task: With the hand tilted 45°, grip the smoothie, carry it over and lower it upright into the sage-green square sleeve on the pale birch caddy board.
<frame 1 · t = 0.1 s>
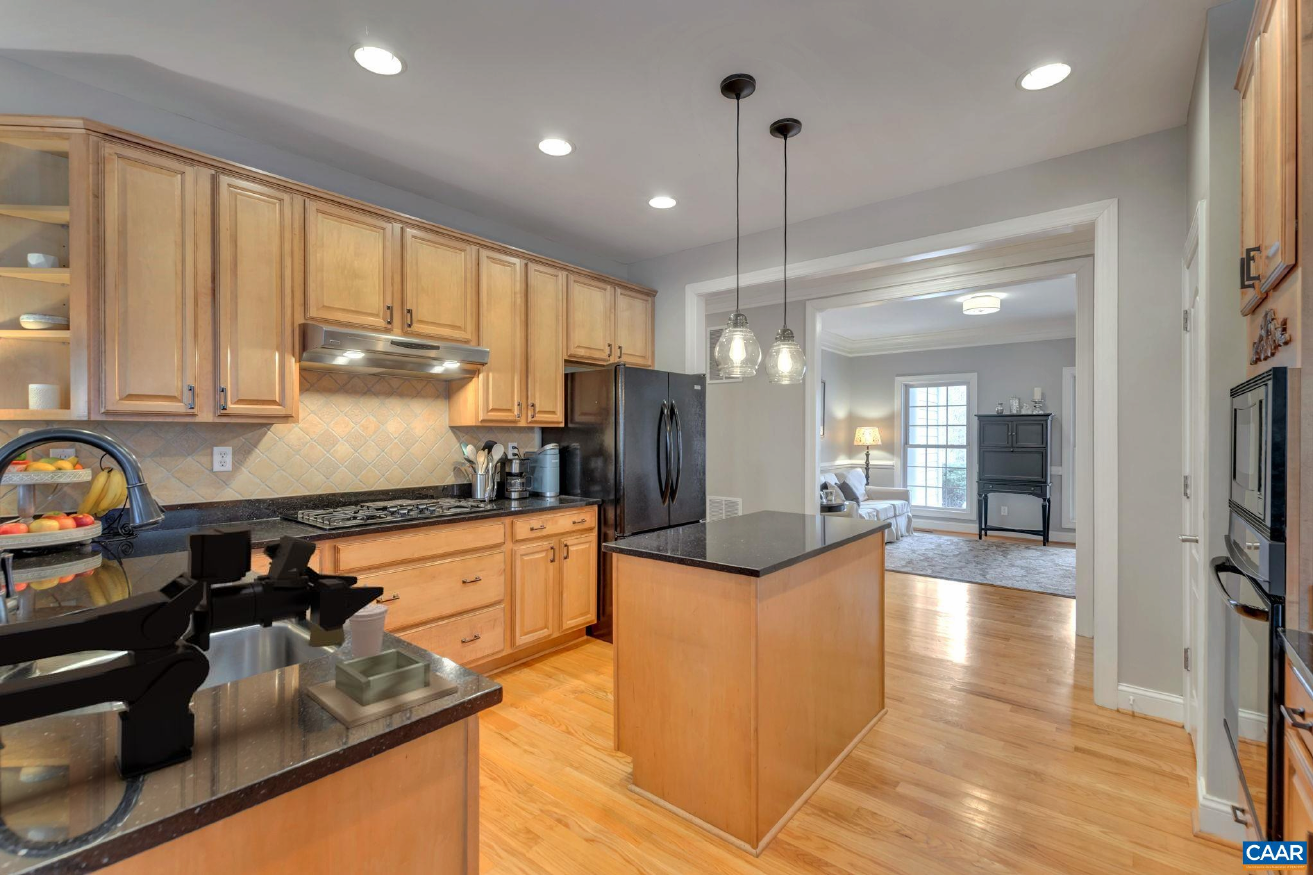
hand: (369, 584, 91), 17 cm above the counter, tool horizontal, fingers open, 9 cm apart
cork: (327, 642, 114), on the counter
smoothie: (366, 666, 102), on the counter
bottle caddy: (382, 692, 92), on the counter
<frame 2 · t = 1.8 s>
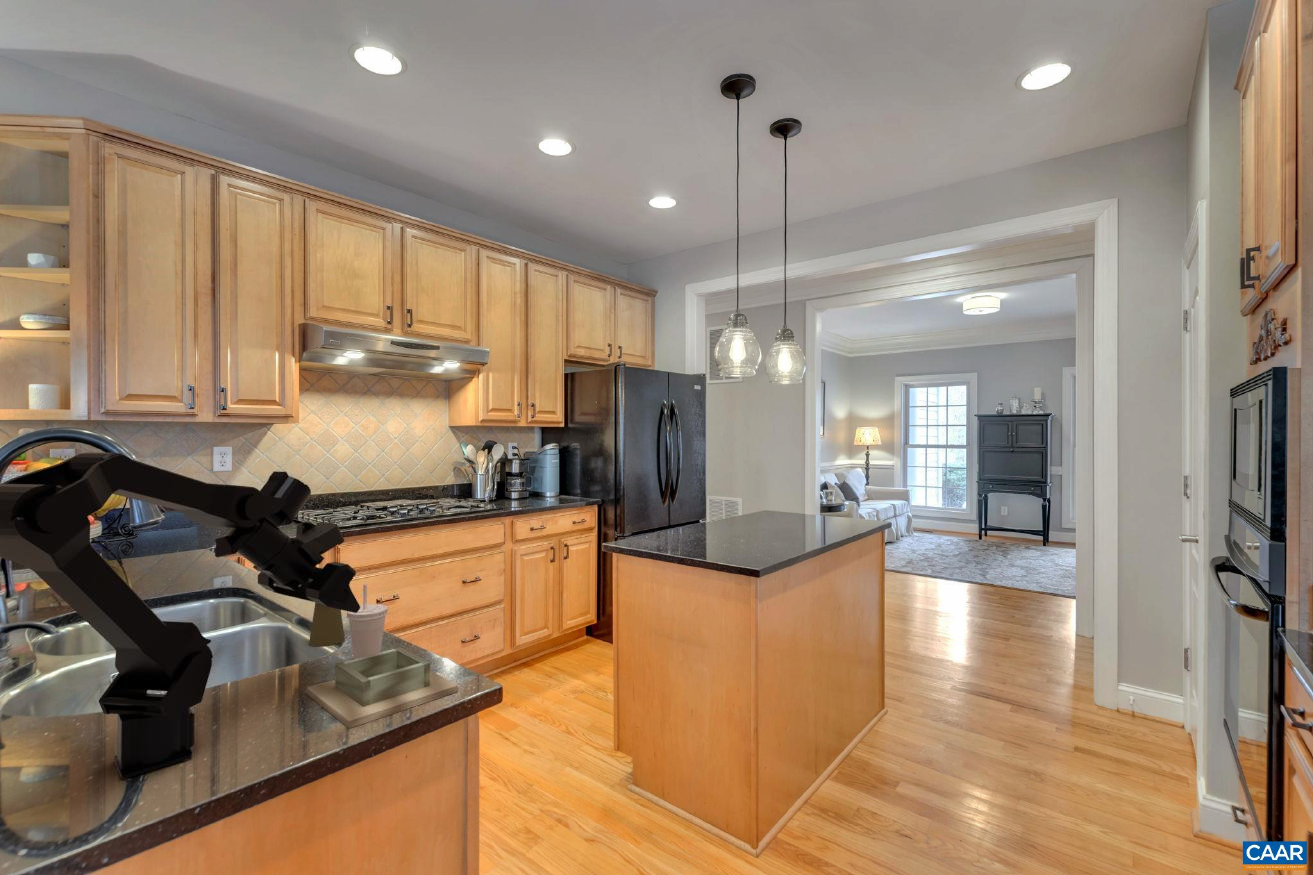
hand: (341, 605, 99), 11 cm above the counter, tool tilted 45°, fingers open, 9 cm apart
nothing on the counter moved.
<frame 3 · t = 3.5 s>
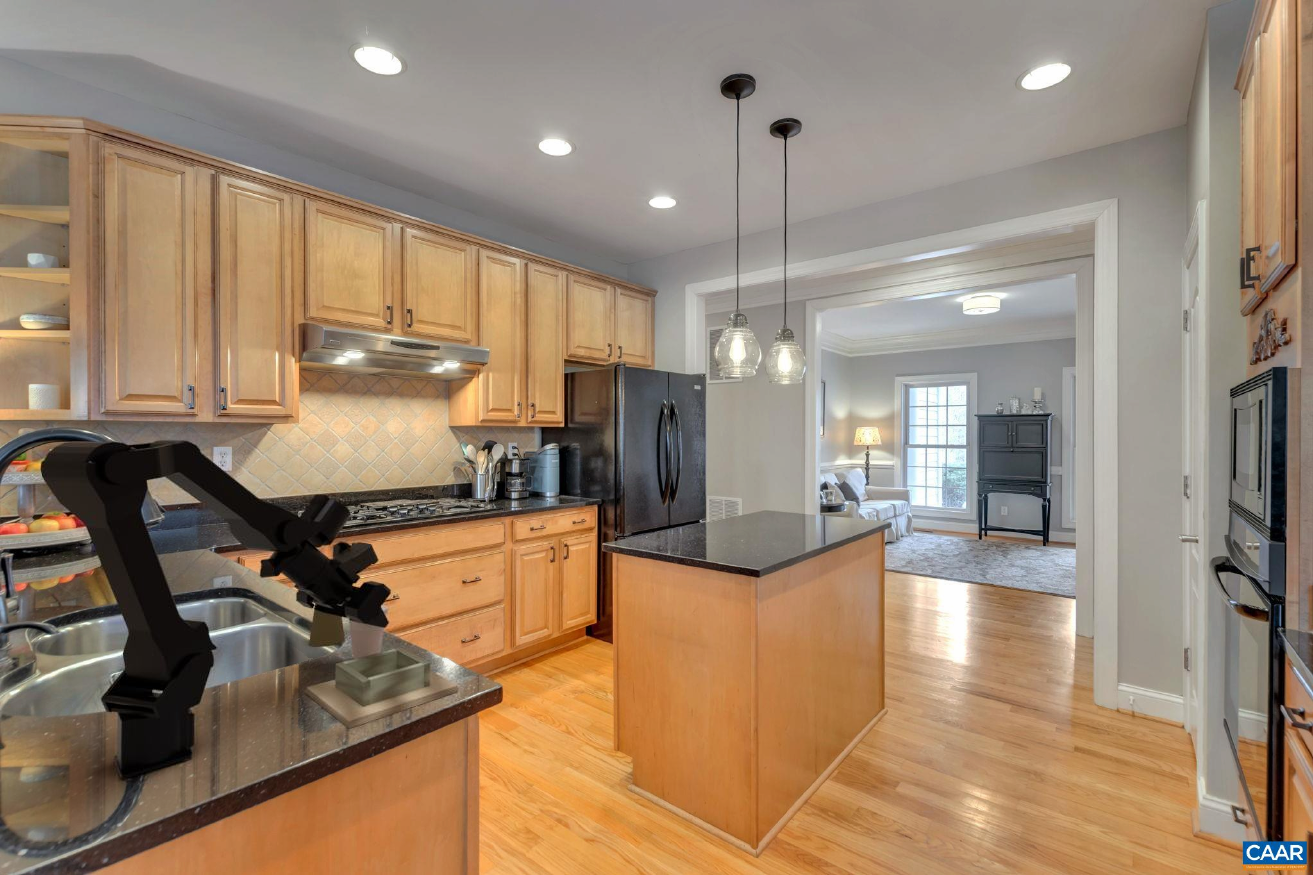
hand: (374, 621, 104), 7 cm above the counter, tool tilted 45°, fingers closed on smoothie, 6 cm apart
smoothie: (366, 666, 103), on the counter, touching gripper
everything else where it was.
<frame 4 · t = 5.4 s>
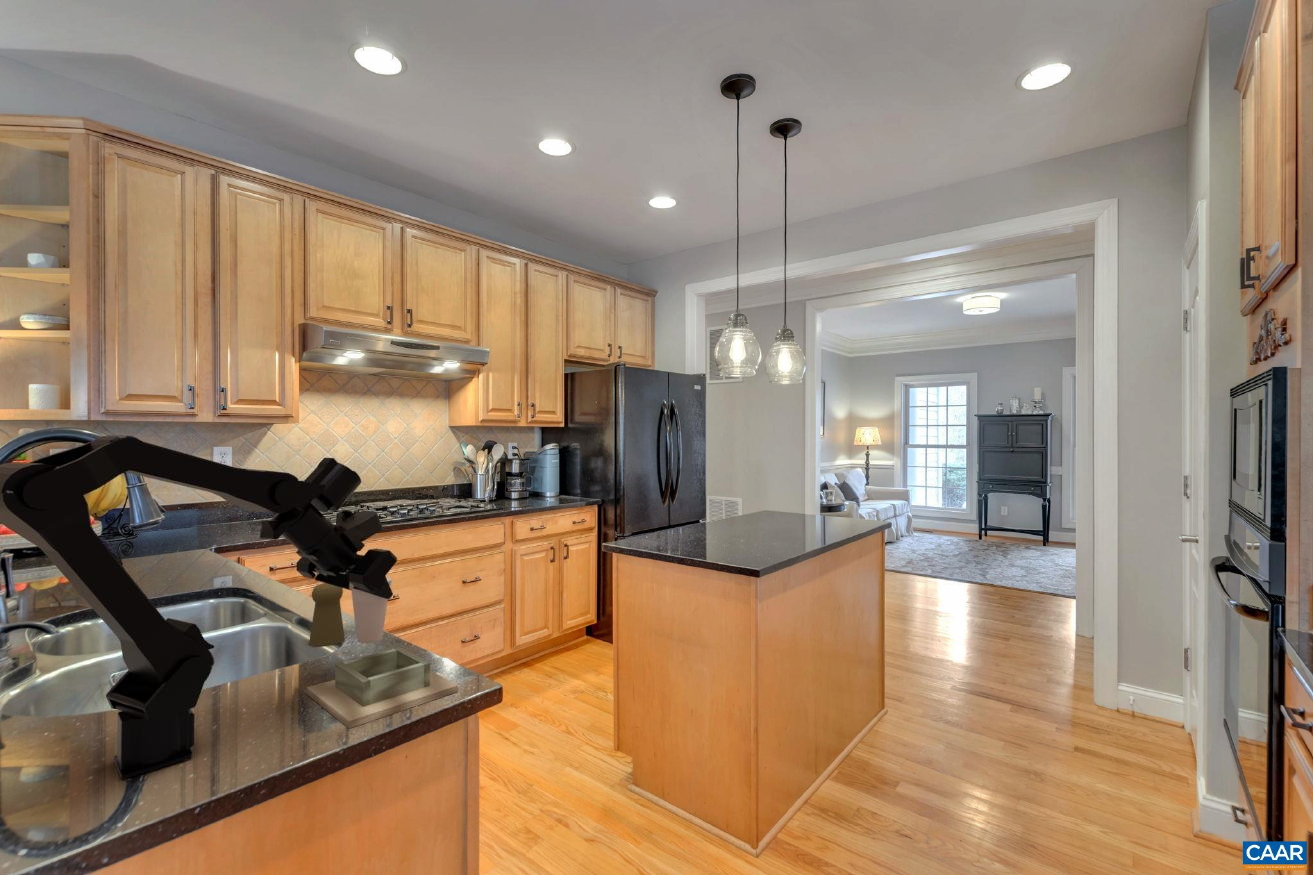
hand: (378, 594, 100), 13 cm above the counter, tool tilted 45°, fingers closed on smoothie, 6 cm apart
smoothie: (369, 640, 99), point 6 cm above the counter, touching gripper
everything else where it was.
when the fingers open (9 cm above the counter, at t = 7.6 s): smoothie stays where it is, resting on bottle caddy.
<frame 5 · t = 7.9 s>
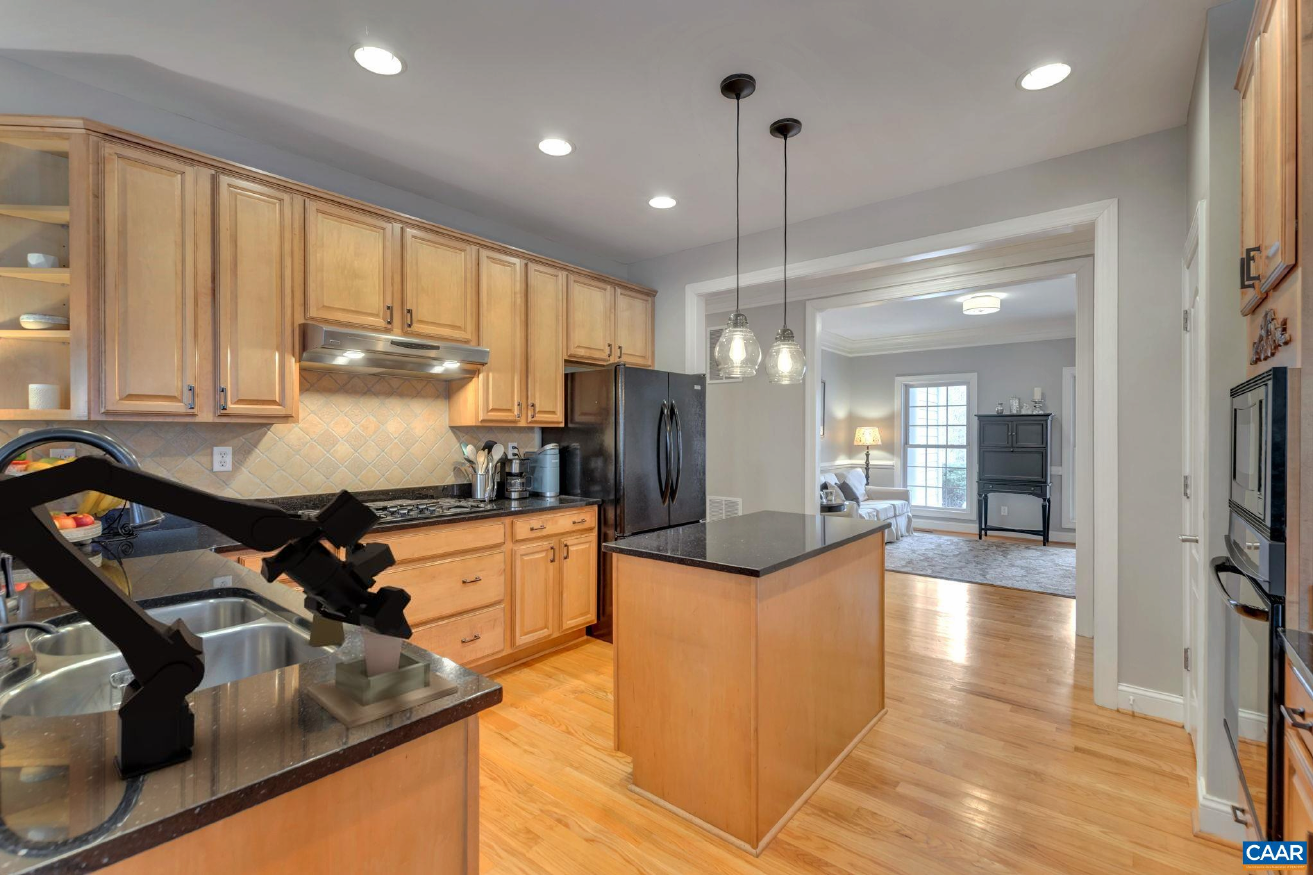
hand: (391, 631, 93), 9 cm above the counter, tool tilted 45°, fingers open, 9 cm apart
smoothie: (382, 688, 91), point 1 cm above the counter, touching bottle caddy
everything else where it was.
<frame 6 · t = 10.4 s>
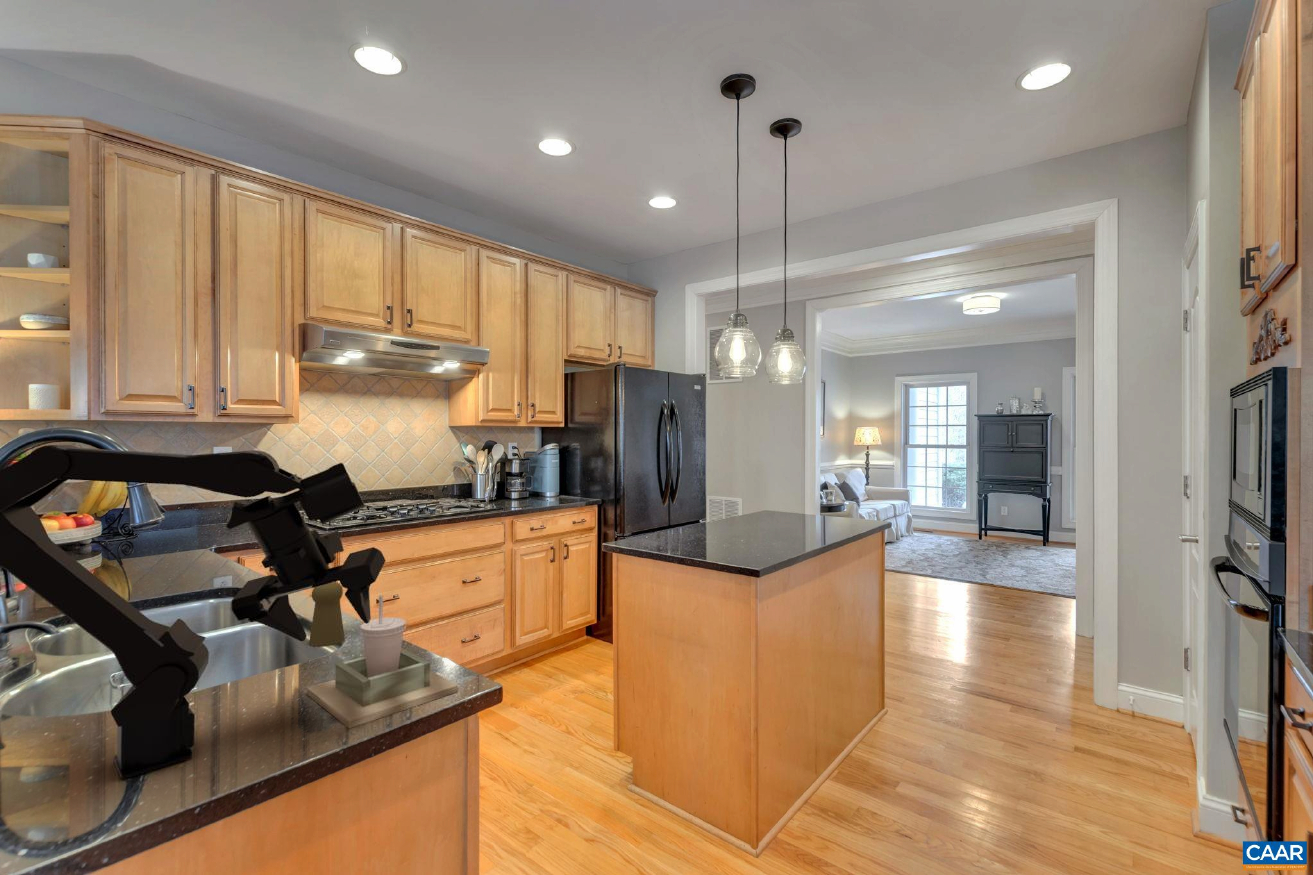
hand: (336, 630, 85), 12 cm above the counter, tool tilted 25°, fingers open, 9 cm apart
nothing on the counter moved.
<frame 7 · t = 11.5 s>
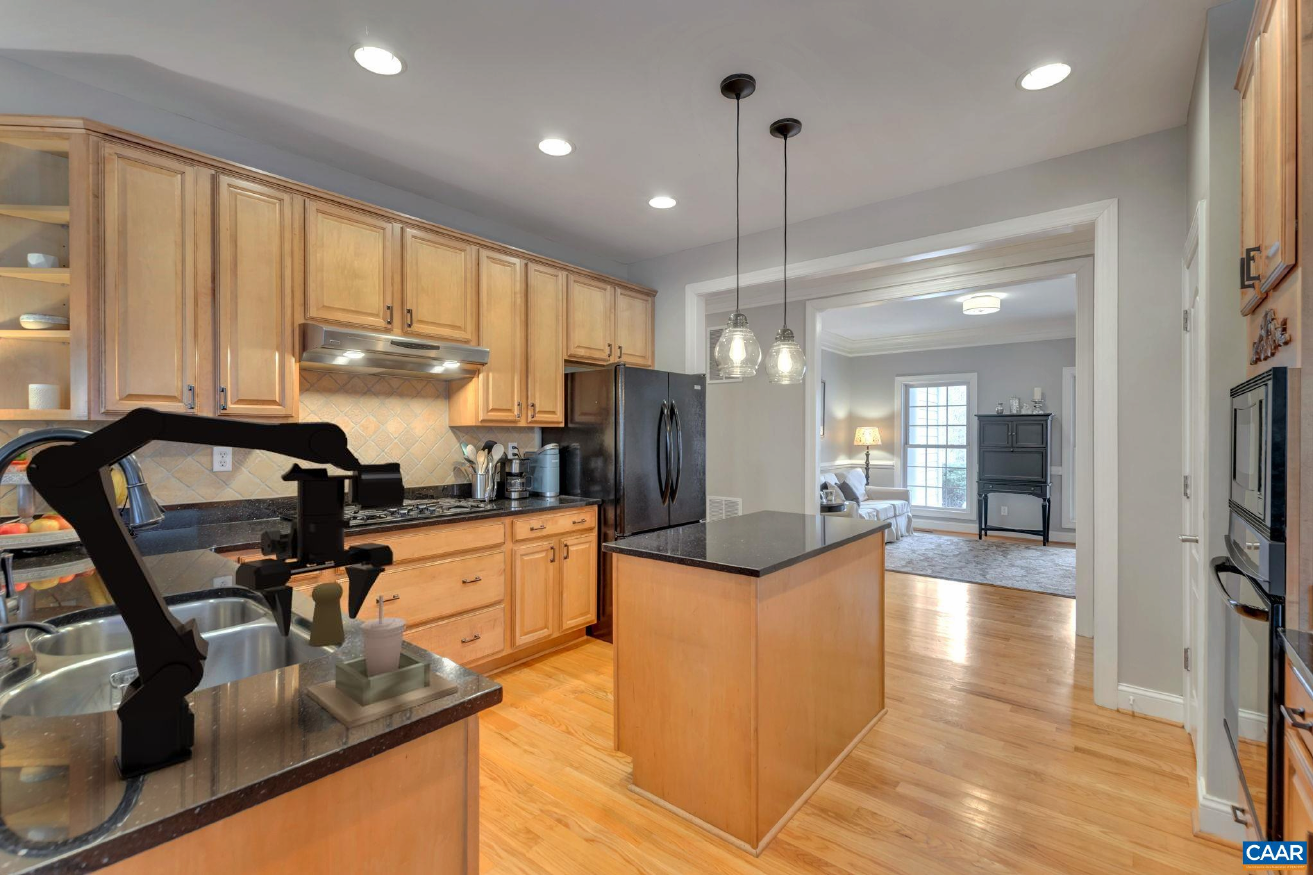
hand: (320, 626, 82), 13 cm above the counter, tool pointing down, fingers open, 9 cm apart
nothing on the counter moved.
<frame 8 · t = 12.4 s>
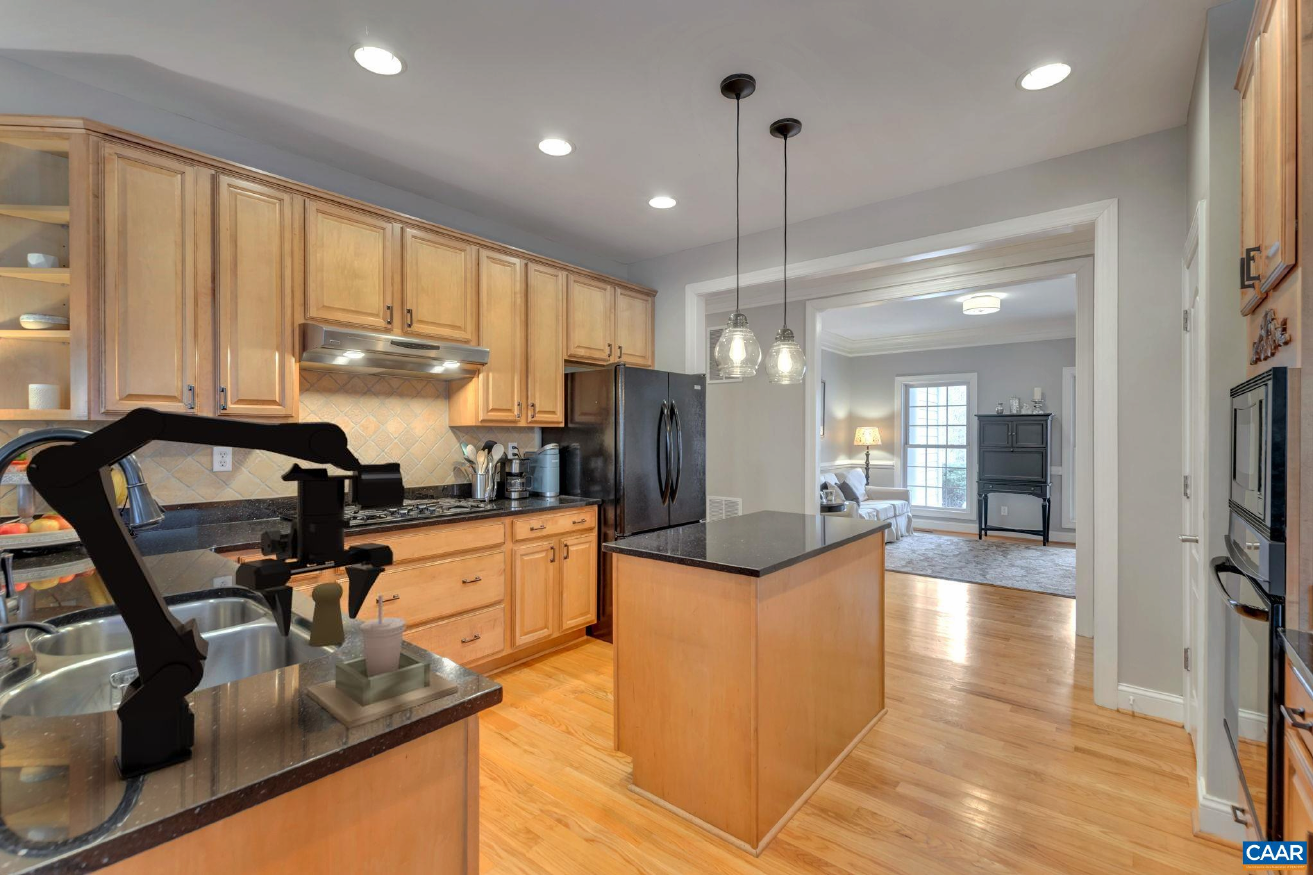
hand: (320, 626, 82), 13 cm above the counter, tool pointing down, fingers open, 9 cm apart
nothing on the counter moved.
at the end: smoothie 0.2 cm off-centre on the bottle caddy, point 0.8 cm above the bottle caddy's base; smoothie tilted 0°; the gripper is holding nothing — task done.
